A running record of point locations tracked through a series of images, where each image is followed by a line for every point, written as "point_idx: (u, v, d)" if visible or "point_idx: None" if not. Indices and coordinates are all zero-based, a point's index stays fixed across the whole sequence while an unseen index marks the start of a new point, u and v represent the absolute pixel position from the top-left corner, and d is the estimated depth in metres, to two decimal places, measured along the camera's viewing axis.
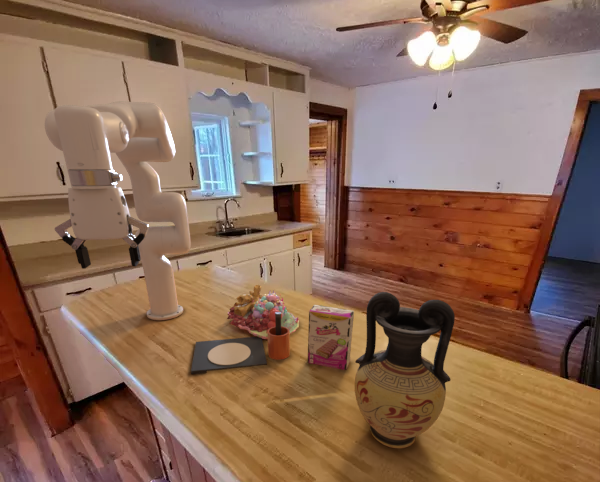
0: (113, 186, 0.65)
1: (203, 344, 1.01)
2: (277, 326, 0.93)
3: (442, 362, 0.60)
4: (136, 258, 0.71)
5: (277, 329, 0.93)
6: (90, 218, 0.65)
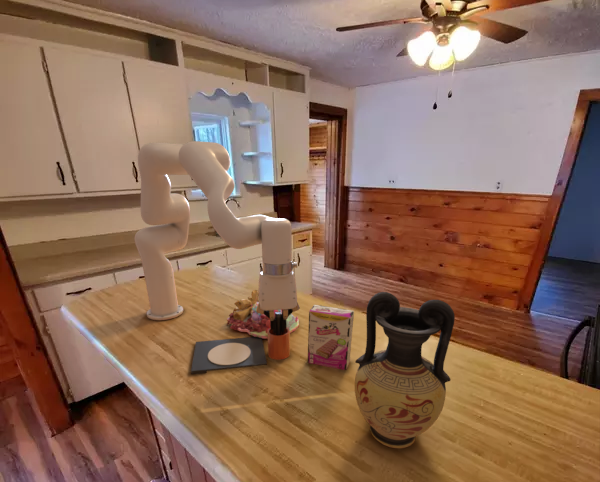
0: (291, 272, 0.88)
1: (203, 344, 1.01)
2: (277, 326, 0.93)
3: (442, 362, 0.60)
4: (284, 326, 0.93)
5: (277, 329, 0.93)
6: (274, 296, 0.88)
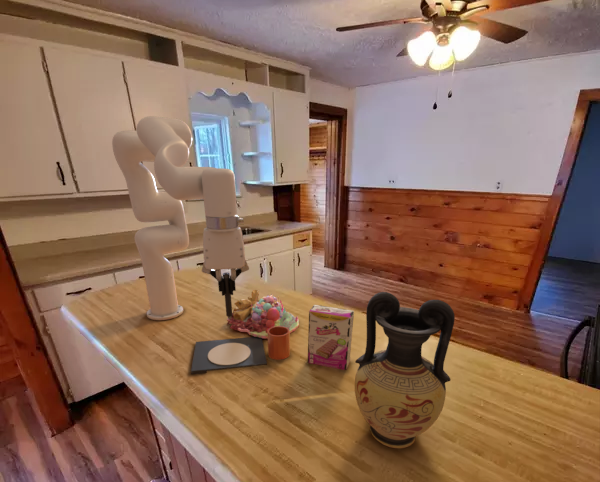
0: (237, 227, 0.82)
1: (203, 344, 1.01)
2: (225, 288, 0.87)
3: (442, 362, 0.60)
4: (233, 288, 0.88)
5: (226, 291, 0.88)
6: (219, 253, 0.82)
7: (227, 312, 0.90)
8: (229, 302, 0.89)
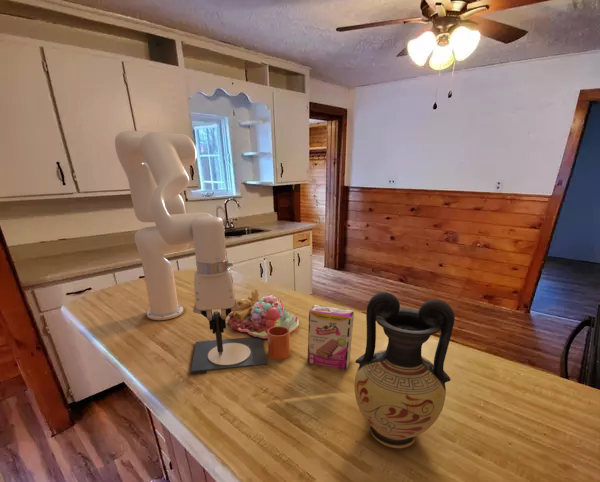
0: (227, 271, 0.86)
1: (203, 344, 1.01)
2: (216, 326, 0.91)
3: (442, 362, 0.60)
4: (224, 326, 0.92)
5: (217, 329, 0.92)
6: (209, 295, 0.86)
7: (218, 349, 0.94)
8: (220, 339, 0.93)
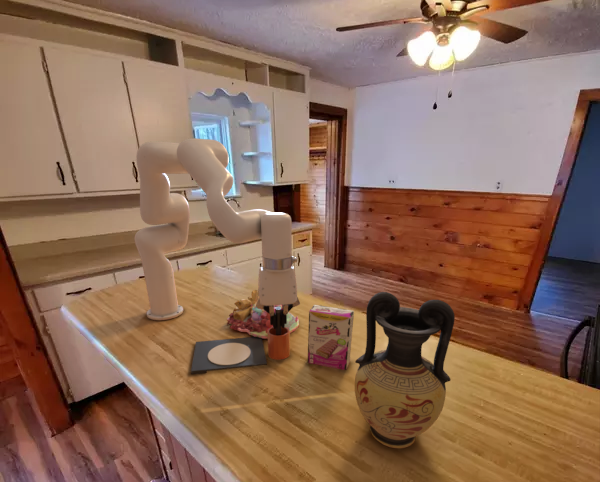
0: (291, 266, 0.87)
1: (203, 344, 1.01)
2: (277, 322, 0.92)
3: (442, 362, 0.60)
4: (285, 322, 0.93)
5: (277, 325, 0.93)
6: (274, 291, 0.87)
7: None
8: (280, 334, 0.94)
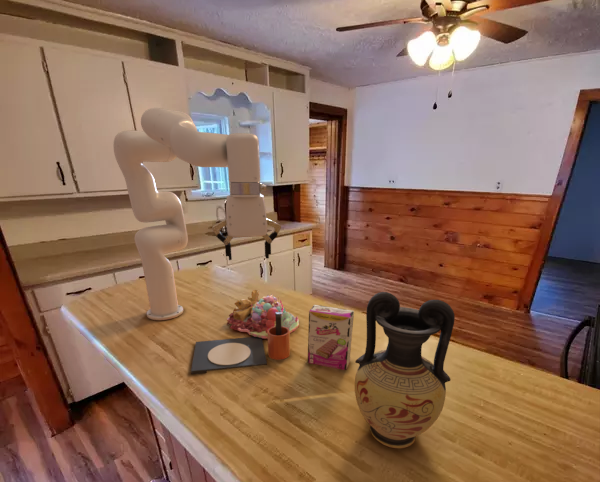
0: (260, 194, 0.83)
1: (203, 344, 1.01)
2: (277, 326, 0.93)
3: (442, 362, 0.60)
4: (269, 252, 0.88)
5: (278, 329, 0.93)
6: (242, 220, 0.82)
7: None
8: None
